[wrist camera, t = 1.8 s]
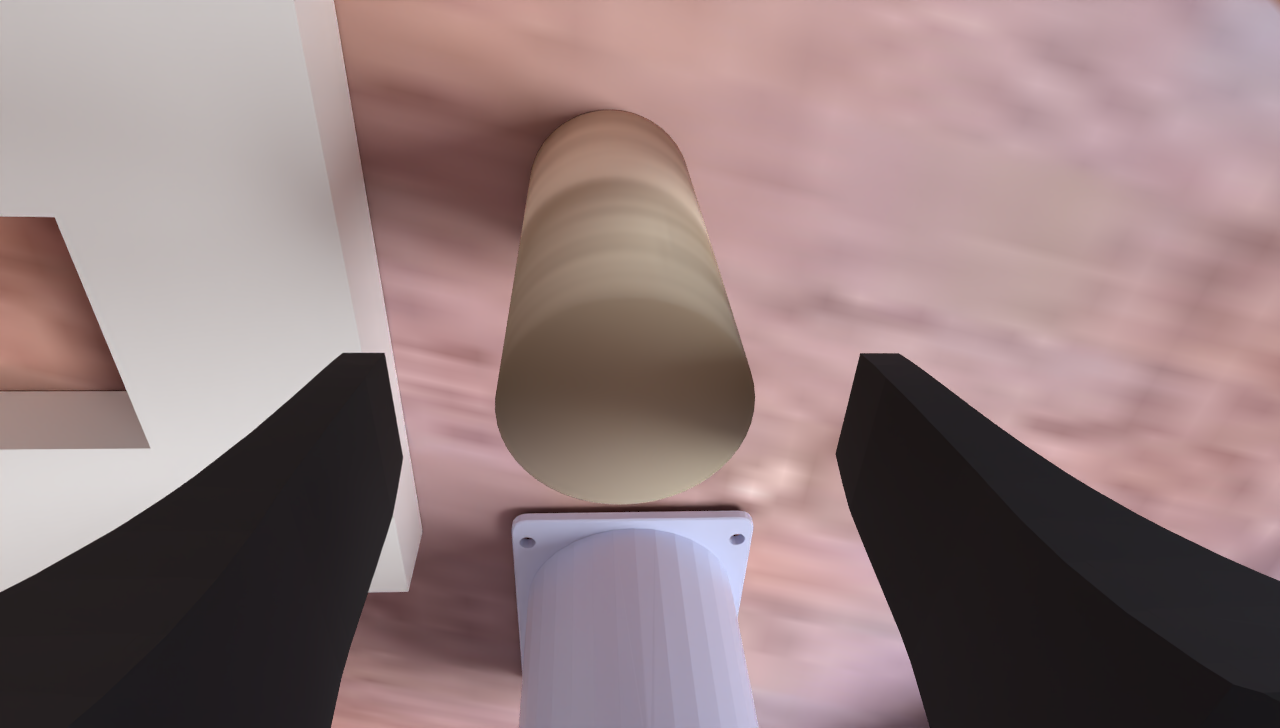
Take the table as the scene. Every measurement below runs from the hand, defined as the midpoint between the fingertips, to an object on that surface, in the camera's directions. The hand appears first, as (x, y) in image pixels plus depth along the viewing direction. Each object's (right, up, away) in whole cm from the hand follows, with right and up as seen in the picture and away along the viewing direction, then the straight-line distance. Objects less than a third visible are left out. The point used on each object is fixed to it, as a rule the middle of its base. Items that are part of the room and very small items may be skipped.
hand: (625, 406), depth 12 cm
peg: (-1, +5, +7) cm, 9 cm away
